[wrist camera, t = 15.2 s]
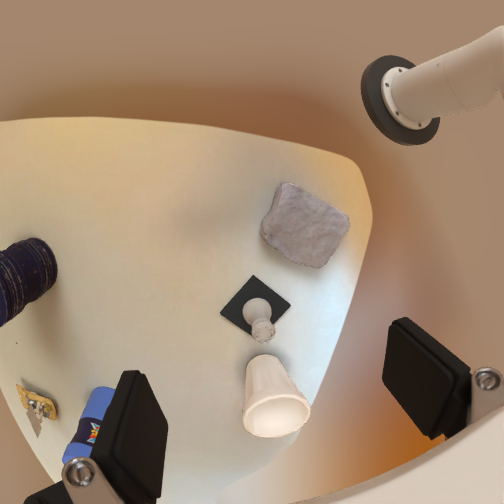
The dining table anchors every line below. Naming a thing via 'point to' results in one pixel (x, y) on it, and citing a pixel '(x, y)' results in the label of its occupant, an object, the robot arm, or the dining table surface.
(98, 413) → the water bottle
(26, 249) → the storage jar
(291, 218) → the stone block
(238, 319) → the mat
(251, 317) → the rook chess piece
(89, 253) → the dining table surface
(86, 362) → the dining table surface
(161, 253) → the dining table surface
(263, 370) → the cup
